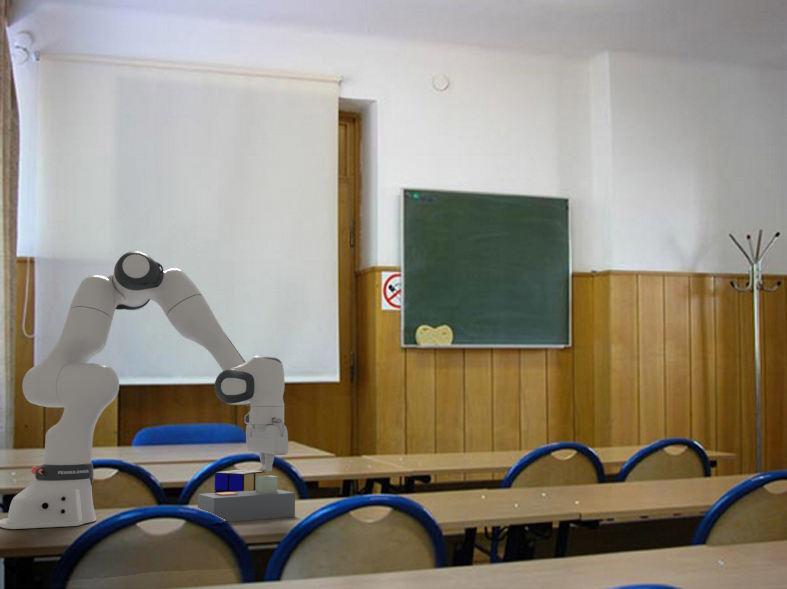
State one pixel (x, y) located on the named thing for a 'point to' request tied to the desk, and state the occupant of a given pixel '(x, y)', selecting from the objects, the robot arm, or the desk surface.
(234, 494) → the salmon orange block
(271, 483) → the pale green block
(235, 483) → the puzzle cube
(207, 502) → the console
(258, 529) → the desk surface
